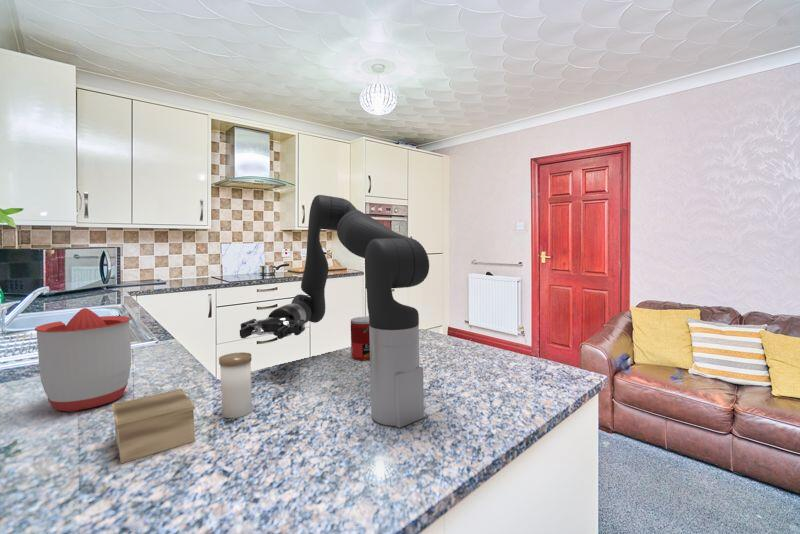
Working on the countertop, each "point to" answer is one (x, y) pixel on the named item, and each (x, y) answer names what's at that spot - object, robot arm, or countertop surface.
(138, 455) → the oak box
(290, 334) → the robot arm
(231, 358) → the cream jar
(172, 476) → the countertop surface
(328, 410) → the countertop surface
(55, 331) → the citrus juicer
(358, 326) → the canned food
